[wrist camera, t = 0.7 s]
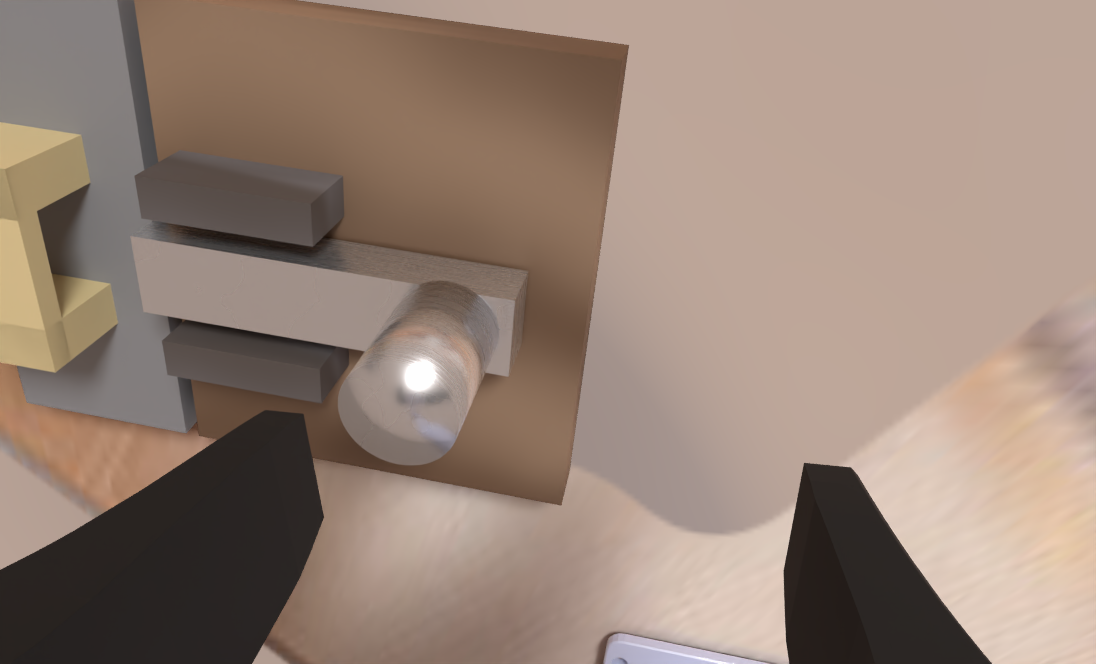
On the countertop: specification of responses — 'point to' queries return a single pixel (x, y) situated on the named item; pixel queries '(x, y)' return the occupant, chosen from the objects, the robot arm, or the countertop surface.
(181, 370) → the door panel
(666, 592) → the countertop surface
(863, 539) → the robot arm
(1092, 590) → the countertop surface
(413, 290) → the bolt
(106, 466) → the countertop surface
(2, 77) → the jamb keeper
